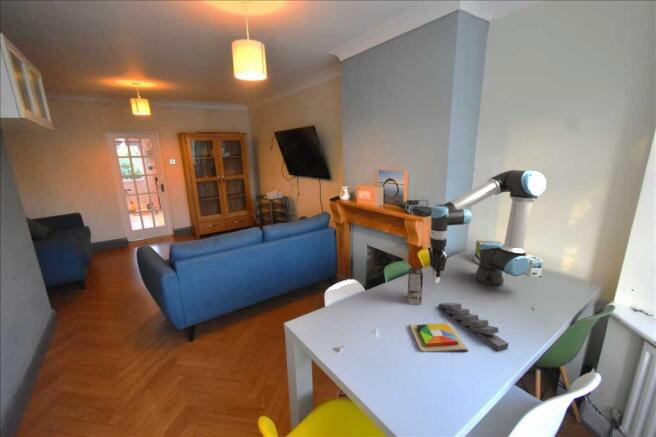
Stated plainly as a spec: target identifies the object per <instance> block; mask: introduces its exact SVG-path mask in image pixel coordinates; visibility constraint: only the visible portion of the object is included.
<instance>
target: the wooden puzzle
mask: <svg viewBox="0 0 656 437" xmlns="http://www.w3.org/2000/svg"><path fill="white" fill-rule="evenodd" d="M408 326H409V329H410V332H411V333H412V335H413V337H414V340H415V342H416V344H417V347H418V349H419V350H420V352H422V353H439V352H440V353H442V352H452V351H466V352H468V351H469V348H468V347H467V345H466V344H465V343H464V341H463V339H462V338H461V336H459V334H458V332H457V331H456V330H455V328H454V326H453V325H452V323H450V322H436V323H423V324H412V323H409V324H408Z"/></svg>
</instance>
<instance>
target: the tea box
mask: <svg viewBox="0 0 656 437" xmlns="http://www.w3.org/2000/svg"><path fill="white" fill-rule="evenodd" d="M475 241H476V244H475V251H474V257H473V258H474V259H473V260H474V262H475V263H478V264H479V258H480V248H481V244H483V243H486V242H496V243H502V242H501V241H497V240H494V241H492V240H475ZM478 264H477V265H478Z"/></svg>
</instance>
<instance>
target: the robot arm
mask: <svg viewBox="0 0 656 437" xmlns="http://www.w3.org/2000/svg"><path fill="white" fill-rule="evenodd" d="M546 186H547V180H546V178H545V176H544V175H543V174H542V173H540V172H539V171H535V170H518V169H510V170H507V171H503V172H500V173H498V174H496V175H494V176H492V177H490V178H488V179H487V180H486V182H485V183H483V184H481V185H478V186H476V187H475V188H473V189H471V190H469V191H467V192H465V193H463V194H461V195H459V196H457V197H455V198H454V199H451V200H449V201H448V202H446V203H444V204H443V203H438V204H435V205H434V206H433V207H431V208H432V209H431V215H430V218H431V220H430V239H429V242H430V243H429V245H430V247H427V251H428V256H429V266H430V267H431V268H432V277H433V279H432V282H433V283H435V284H437V283H440V280H441V272H443V271H445V267H446V263H447V260H448V258H449V254H448V253H447V254H446V250H445V247H446V246H447V237H448V227H449V226H459V225H462V226H463V225H468V224H470V223H471V222H472V217H473V216H472V212H471V211H470V210H469V209H468V208H470V207H472V206H474V205H476V204H478V203H480V202H482V201H483V200H485V199H488V198H490V197H492V196H493V195H495V196H497V195H500V194H502V193H509V198H510V199H511V200H512V201H511V206H510V210H509V211H510V212H509V216H508V222H507V227H506V233H505V237H504V243H502V242H501V243H496V242H486V243H483V244H481V248H480V258H479V265H478V267H477V269H476V271H475V272H474V277H473V278H474V281H475V282H477V283H478V284H480V285H481V284H482V285H484V286H489V287H499V286H500V287H501V286H502V285H504V281H505V279H504V277H503V273H505V274H507V275H510V276H512V277H519V276H522V275H524V274H525V272H526V271H527V270H528V268H529V265H530V262H529V260H528V258H527V257H525V255H527V250H526V249H525V248H524V247H525V246H524V245H525V242H526V238H527V237H526V236H527V233H528V232H527V231H528V228H529V227H528V226H529V222H530V217H531V211H532V207H533V202H535V201H536V200H538V197H539V196H540V195H542V194H543V192H545V190H546V188H547V187H546Z"/></svg>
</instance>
